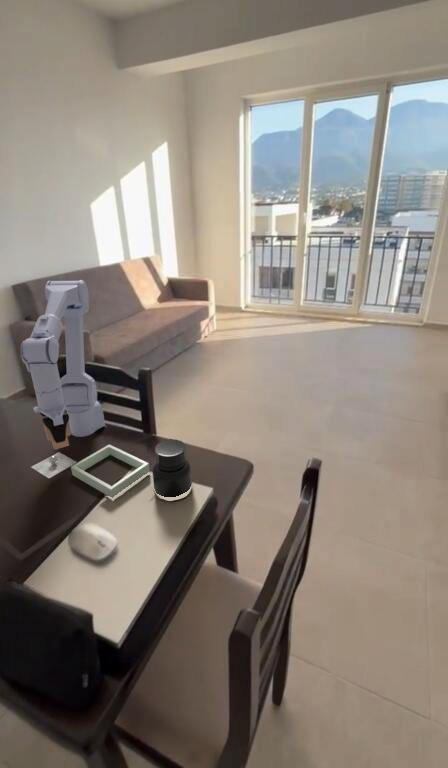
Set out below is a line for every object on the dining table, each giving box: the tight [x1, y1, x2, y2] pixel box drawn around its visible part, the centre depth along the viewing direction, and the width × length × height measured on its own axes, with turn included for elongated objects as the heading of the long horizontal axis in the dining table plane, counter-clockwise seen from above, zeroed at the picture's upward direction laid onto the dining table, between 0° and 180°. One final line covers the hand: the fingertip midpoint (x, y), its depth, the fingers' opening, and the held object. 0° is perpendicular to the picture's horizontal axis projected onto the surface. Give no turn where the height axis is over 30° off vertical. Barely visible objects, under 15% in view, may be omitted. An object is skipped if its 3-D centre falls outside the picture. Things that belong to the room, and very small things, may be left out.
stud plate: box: [30, 451, 78, 479], centre depth 99 cm, size 8×8×4 cm
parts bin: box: [70, 444, 151, 498], centre depth 96 cm, size 12×15×4 cm
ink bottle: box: [152, 439, 193, 497], centre depth 89 cm, size 10×9×12 cm
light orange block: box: [41, 410, 72, 450], centre depth 95 cm, size 3×5×8 cm, turn 121°
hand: (59, 437), depth 96 cm, fingers closed on light orange block, 3 cm apart
